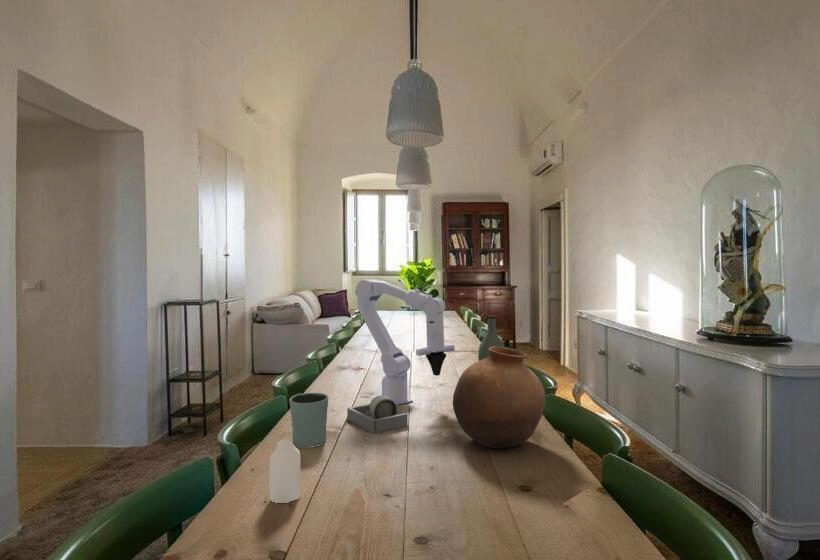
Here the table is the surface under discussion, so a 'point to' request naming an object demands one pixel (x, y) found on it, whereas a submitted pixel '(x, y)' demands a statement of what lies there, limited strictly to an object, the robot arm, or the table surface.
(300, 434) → the green tapered cup
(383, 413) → the ceramic mug
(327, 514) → the table surface
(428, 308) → the robot arm
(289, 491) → the white shouldered tall container
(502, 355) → the pottery
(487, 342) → the bottle
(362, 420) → the box
